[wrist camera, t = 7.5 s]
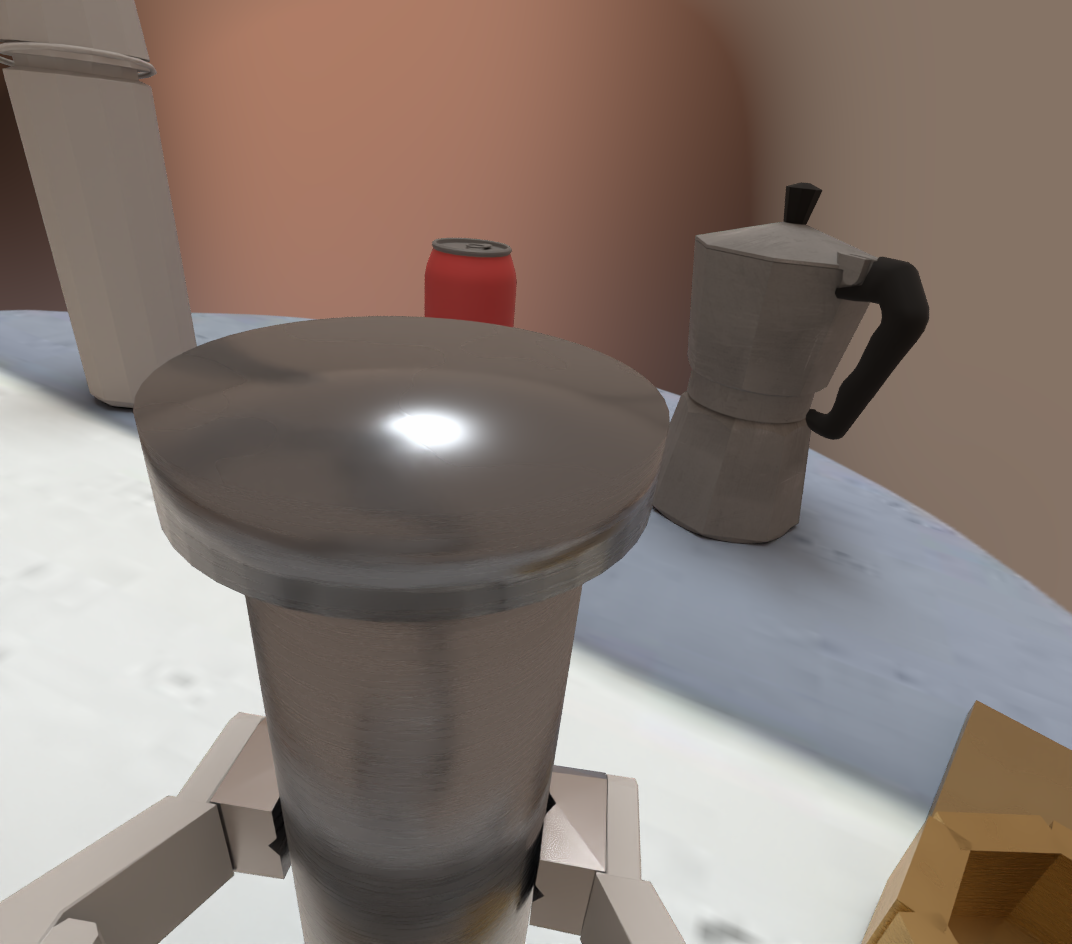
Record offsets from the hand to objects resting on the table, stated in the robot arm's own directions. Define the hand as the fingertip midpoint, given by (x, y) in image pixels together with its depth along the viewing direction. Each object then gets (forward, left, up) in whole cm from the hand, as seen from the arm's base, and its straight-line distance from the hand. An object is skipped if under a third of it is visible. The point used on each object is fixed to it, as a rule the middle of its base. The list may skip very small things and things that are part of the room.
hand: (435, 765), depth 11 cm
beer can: (+25, +28, -9) cm, 39 cm away
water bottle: (+7, +43, -9) cm, 45 cm away
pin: (-1, -1, -9) cm, 9 cm away
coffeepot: (+27, +6, -9) cm, 29 cm away
